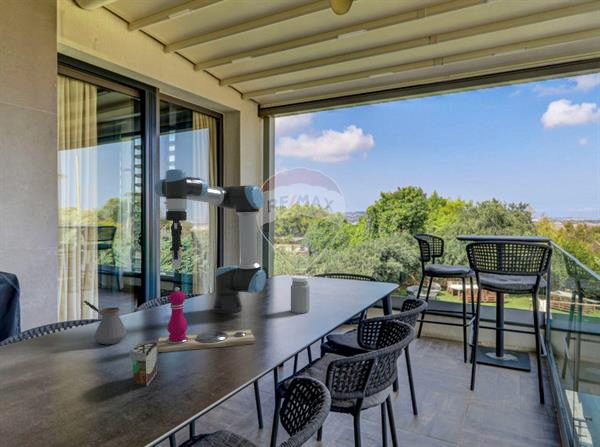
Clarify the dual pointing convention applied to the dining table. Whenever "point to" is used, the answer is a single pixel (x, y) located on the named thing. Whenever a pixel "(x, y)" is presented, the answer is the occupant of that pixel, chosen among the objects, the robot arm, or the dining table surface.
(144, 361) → the white and brown wedge
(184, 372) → the dining table surface
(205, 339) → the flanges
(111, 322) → the coffee pot
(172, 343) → the flange
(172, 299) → the pepper mill
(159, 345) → the tan flat board
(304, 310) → the jar
